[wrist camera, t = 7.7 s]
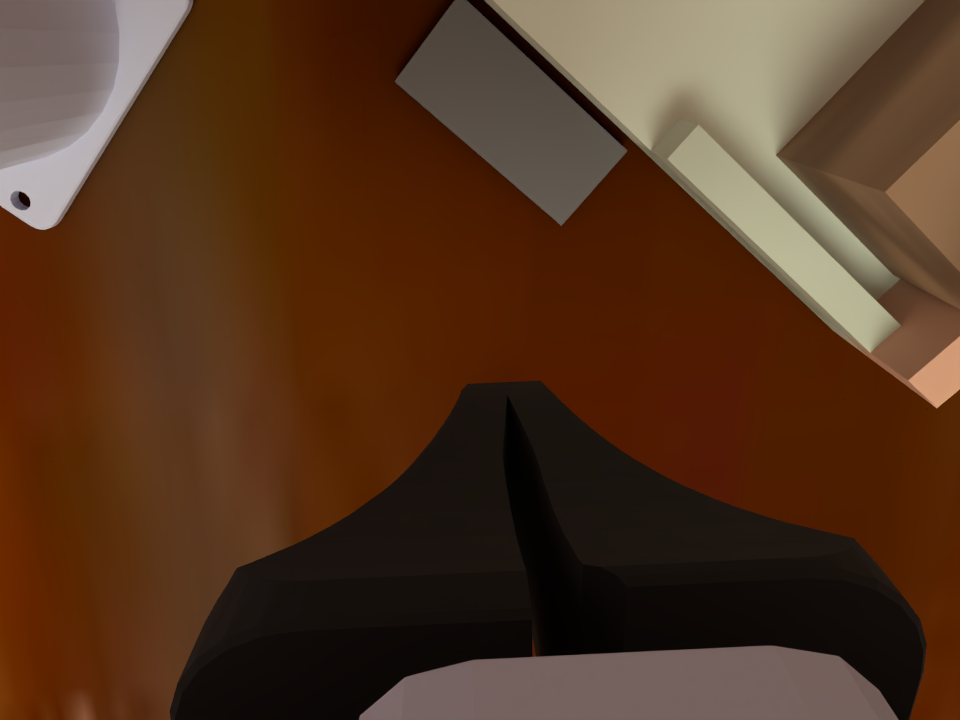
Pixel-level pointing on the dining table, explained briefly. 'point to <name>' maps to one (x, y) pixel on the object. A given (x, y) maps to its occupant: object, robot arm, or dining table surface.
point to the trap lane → (754, 142)
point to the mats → (509, 111)
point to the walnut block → (896, 152)
